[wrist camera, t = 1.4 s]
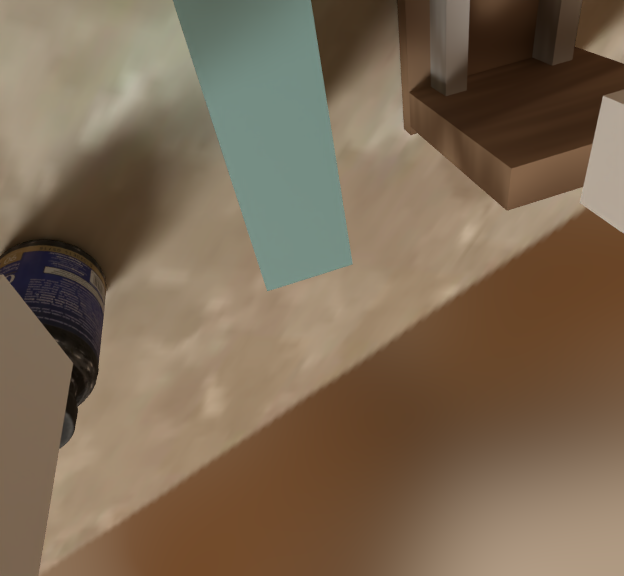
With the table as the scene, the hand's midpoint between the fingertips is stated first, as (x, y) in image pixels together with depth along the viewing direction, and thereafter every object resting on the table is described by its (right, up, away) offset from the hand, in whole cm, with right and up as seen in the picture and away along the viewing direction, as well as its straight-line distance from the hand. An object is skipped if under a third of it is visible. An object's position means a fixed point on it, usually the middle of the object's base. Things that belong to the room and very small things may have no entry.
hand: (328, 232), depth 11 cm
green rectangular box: (-5, +11, +13) cm, 18 cm away
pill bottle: (-16, -1, +19) cm, 25 cm away
